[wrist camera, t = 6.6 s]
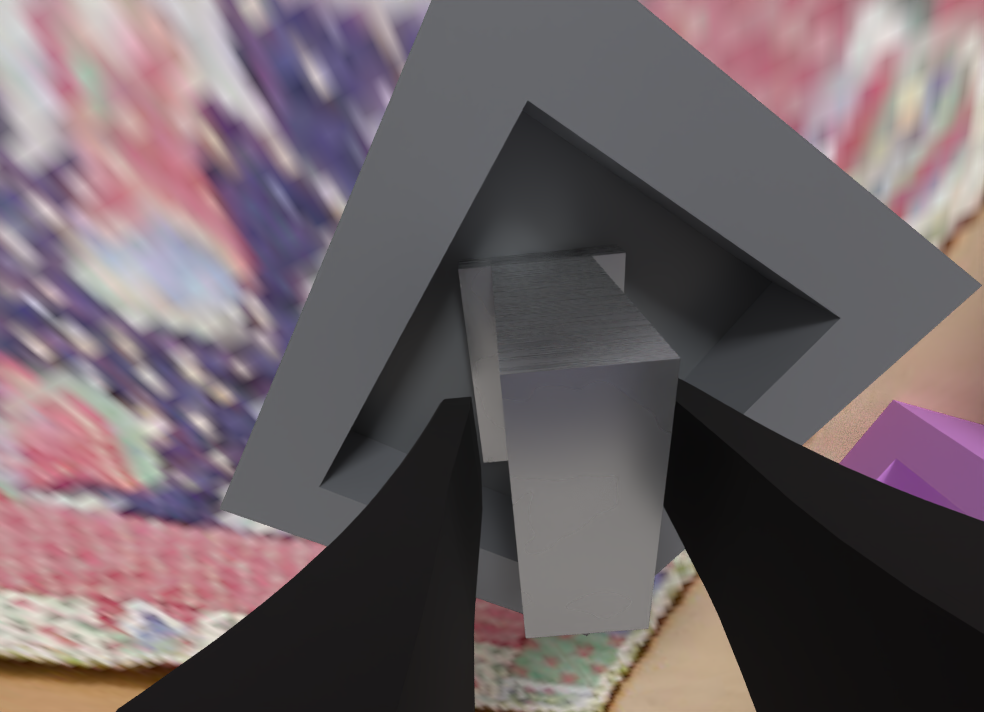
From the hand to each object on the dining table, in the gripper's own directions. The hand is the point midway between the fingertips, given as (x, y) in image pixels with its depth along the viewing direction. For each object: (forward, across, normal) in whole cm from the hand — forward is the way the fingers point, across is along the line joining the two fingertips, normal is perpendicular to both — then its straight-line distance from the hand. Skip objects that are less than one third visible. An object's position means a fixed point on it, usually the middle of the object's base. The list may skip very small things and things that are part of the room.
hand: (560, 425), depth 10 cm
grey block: (+3, 0, 0) cm, 3 cm away
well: (+4, 0, 0) cm, 4 cm away
